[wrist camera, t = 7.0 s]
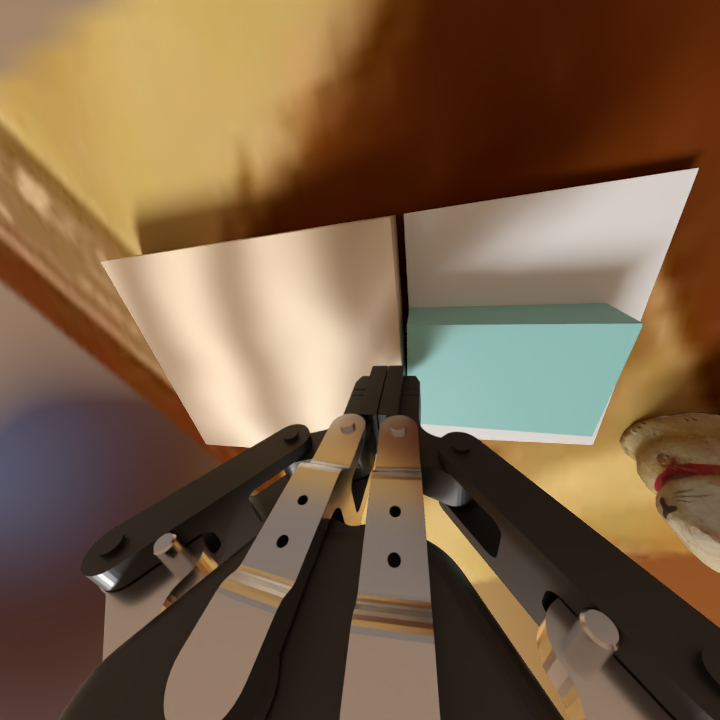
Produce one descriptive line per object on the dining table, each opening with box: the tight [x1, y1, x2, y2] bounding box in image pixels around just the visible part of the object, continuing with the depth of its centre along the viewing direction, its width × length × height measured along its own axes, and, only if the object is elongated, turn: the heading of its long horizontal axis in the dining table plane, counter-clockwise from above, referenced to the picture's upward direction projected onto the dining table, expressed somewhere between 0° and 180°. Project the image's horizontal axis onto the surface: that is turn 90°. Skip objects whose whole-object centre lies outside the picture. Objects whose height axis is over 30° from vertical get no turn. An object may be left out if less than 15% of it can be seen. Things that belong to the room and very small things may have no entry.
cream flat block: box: [101, 215, 407, 447], centre depth 17 cm, size 16×14×2 cm
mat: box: [404, 168, 699, 445], centre depth 14 cm, size 11×14×1 cm
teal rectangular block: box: [407, 303, 643, 437], centre depth 14 cm, size 9×6×2 cm, turn 95°
